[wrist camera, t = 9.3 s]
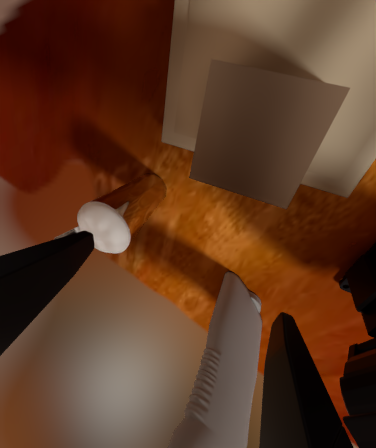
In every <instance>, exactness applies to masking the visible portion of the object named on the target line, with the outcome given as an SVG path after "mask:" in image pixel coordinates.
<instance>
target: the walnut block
mask: <svg viewBox="0 0 376 448" xmlns="http://www.w3.org/2000/svg"><path fill="white" fill-rule="evenodd" d="M349 90H350V88H349V87H344V86H339V85H335V84H330V83H325V82H320V81H315V80H311V79H306V78H301V77H296V76H291V75H287V74H282V73H277V72H272V71H267V70H263V69H258V68H253V67H248V66H243V65H239V64H234V63H229V62H224V61H219V60H215V59H211V64H210V69H209V74H208V80H207V85H206V91H205V96H204V101H203V107H202V112H201V118H200V123H199V128H198V134H197V139H196V145H195V150H194V155H193V161H192V166H191V172H190V177H189V178H191V179H194V180H197V181H200V182H203V183H206V184H209V185H213V186H216V187H219V188H222V189H225V190H228V191H231V192H234V193H237V194H240V195H243V196H247V197H250V198H253V199H256V200H259V201H262V202H265V203H268V204H271V205H274V206H277V207H281V208H284V209H287V208H288V206H289V204H290V202H291V200H292V198H293V196H294V194H295V193H296V191H297V189H298V187H299V185H300V183H301V181H302V179H303V177H304V175H305V174H306V172H307V170H308V168H309V166H310V164H311V162H312V160H313V158H314V156H315V155H316V153H317V151H318V149H319V147H320V145H321V143H322V141H323V139H324V137H325V136H326V134H327V132H328V130H329V128H330V126H331V124H332V122H333V120H334V118H335V117H336V115H337V113H338V111H339V109H340V107H341V105H342V103H343V101H344V99H345V98H346V96H347V94H348V92H349Z"/></svg>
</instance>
